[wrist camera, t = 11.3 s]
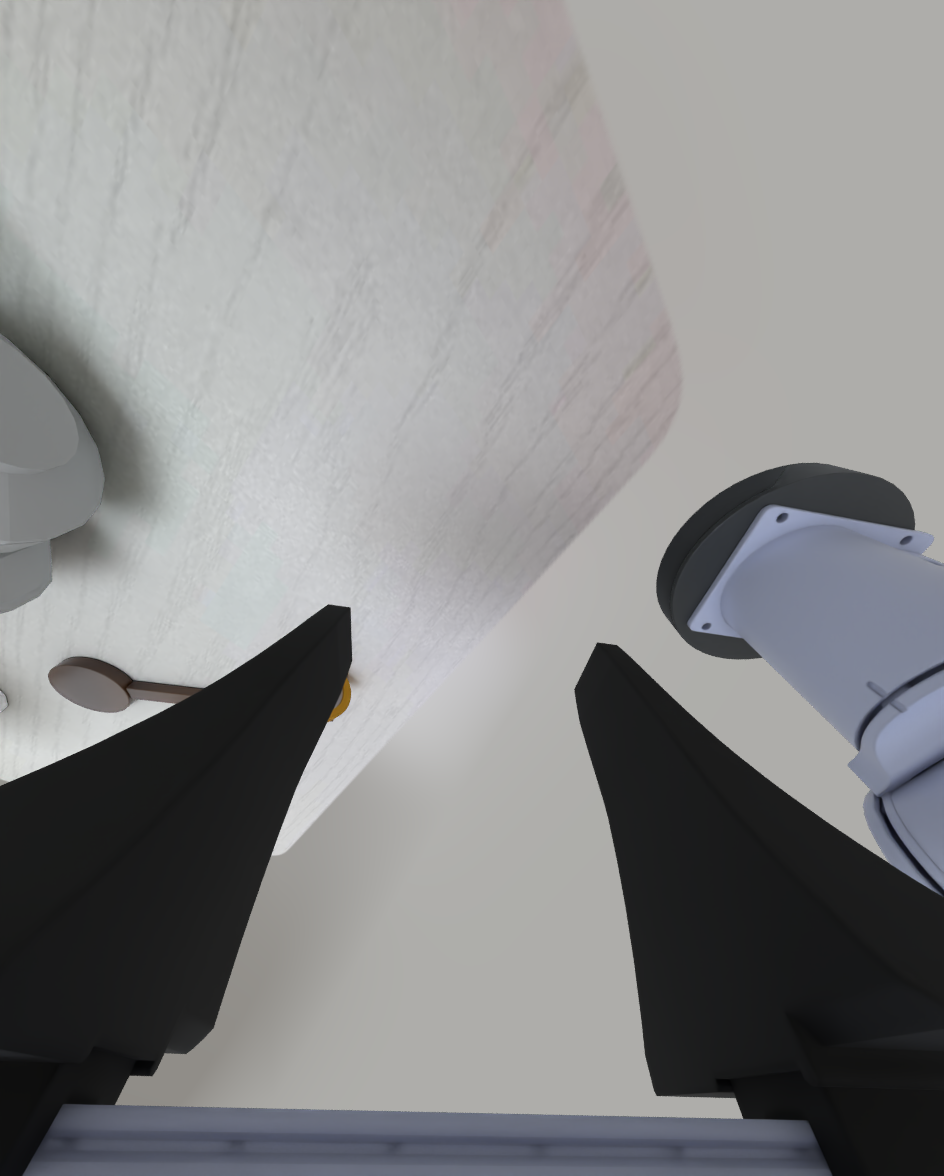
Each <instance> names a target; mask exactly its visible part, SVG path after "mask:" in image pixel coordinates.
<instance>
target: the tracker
mask: <svg viewBox="0 0 944 1176" xmlns="http://www.w3.org/2000/svg"><path fill="white" fill-rule="evenodd" d="M350 699H351V689H350V684H349V681H348V679H347V678H346V680H345V683H344V686H343V689H342V692H341V694H340V696H339V699H338V701H337V703H336V705H335V707H334V709H333V711H332V713H331V715H330V718H329V720H328V722H329V721H331V720H333V719H335V718H336V717H338V716H339V715H341V714H342V713H343V712H344V711H345V710H346V709H347V707H348V705H349V703H350Z"/></svg>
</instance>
